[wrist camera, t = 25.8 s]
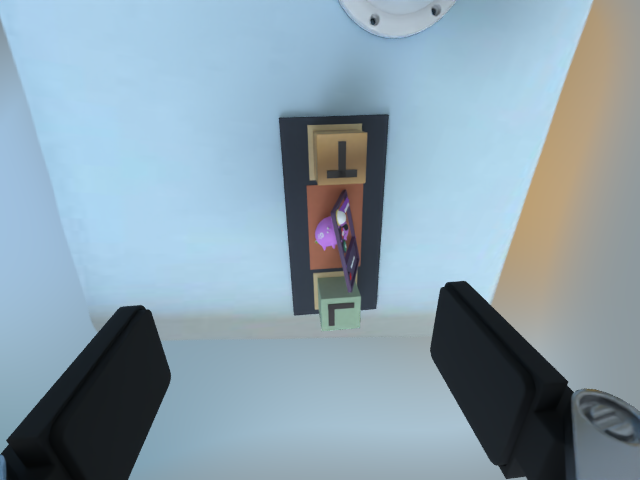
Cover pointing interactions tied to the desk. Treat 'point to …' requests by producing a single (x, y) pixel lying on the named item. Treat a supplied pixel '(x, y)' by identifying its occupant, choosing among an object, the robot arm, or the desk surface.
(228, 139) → the desk surface
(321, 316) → the sage letter block
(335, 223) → the purple boxed toy figure
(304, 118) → the word mat
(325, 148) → the honey letter block
